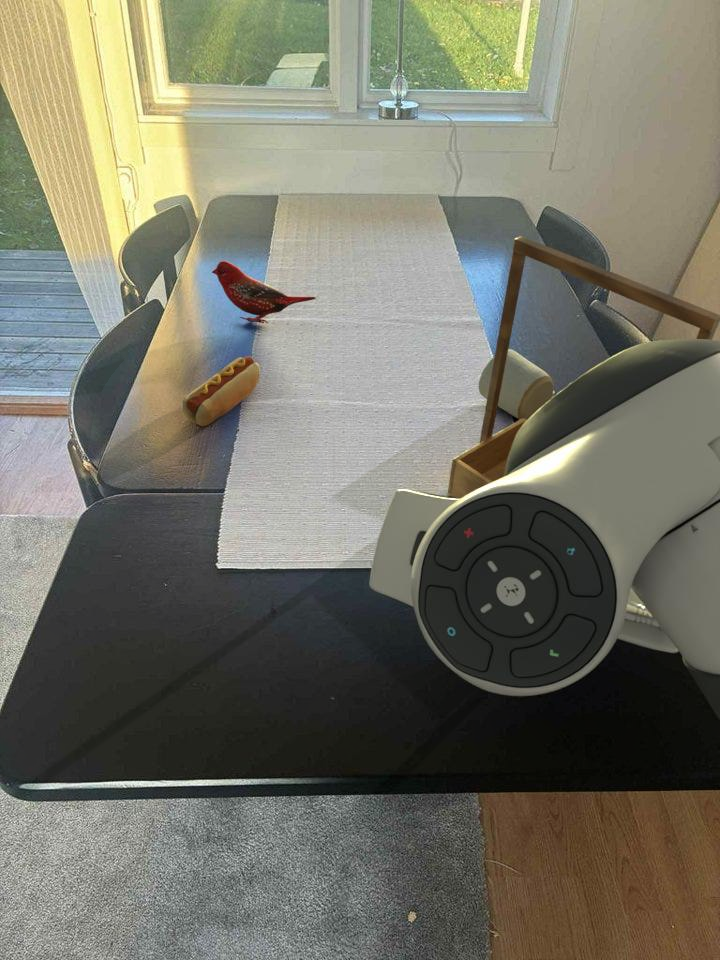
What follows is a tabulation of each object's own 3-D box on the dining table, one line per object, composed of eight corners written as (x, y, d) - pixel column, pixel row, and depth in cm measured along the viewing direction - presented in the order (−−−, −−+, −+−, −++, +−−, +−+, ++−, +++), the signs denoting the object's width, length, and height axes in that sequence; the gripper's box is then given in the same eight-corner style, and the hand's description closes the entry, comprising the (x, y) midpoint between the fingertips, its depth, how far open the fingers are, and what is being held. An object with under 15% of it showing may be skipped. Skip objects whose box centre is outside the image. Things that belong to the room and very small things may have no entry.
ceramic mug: (517, 431, 95) (528, 383, 90) (473, 403, 100) (481, 356, 95) (565, 405, 101) (578, 358, 96) (522, 380, 105) (532, 334, 100)
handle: (623, 560, 78) (722, 315, 58) (617, 565, 77) (715, 319, 58) (480, 465, 90) (521, 236, 70) (474, 469, 89) (514, 238, 69)
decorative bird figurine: (220, 312, 119) (213, 255, 112) (319, 328, 115) (318, 271, 109) (213, 320, 117) (206, 262, 110) (314, 336, 113) (312, 278, 107)
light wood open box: (645, 530, 81) (659, 496, 78) (577, 586, 75) (590, 551, 71) (516, 451, 92) (523, 417, 89) (447, 493, 85) (452, 459, 82)
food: (237, 376, 104) (234, 346, 101) (268, 386, 102) (266, 357, 99) (176, 424, 95) (171, 393, 91) (209, 437, 93) (204, 406, 89)
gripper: (733, 579, 37) (682, 574, 50) (372, 480, 42) (412, 499, 56) (702, 695, 37) (659, 659, 50) (343, 580, 42) (390, 575, 55)
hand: (527, 574), depth 53 cm, fingers closed on beverage cup, 5 cm apart
